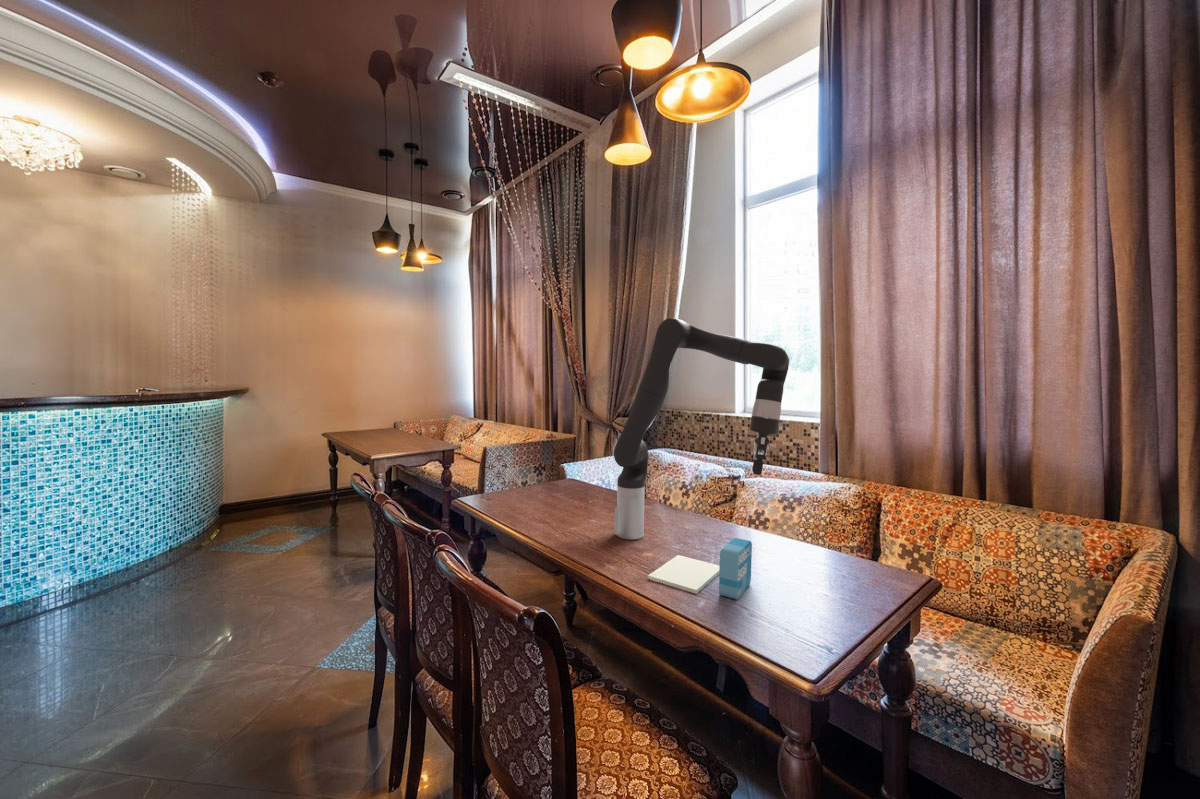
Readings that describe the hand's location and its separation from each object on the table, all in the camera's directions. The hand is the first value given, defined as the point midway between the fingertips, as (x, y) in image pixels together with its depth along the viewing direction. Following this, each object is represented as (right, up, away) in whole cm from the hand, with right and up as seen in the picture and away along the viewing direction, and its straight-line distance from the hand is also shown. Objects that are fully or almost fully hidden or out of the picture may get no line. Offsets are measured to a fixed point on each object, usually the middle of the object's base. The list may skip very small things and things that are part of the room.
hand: (756, 473), depth 131 cm
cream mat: (-20, -27, -3) cm, 34 cm away
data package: (-10, -28, -12) cm, 32 cm away
